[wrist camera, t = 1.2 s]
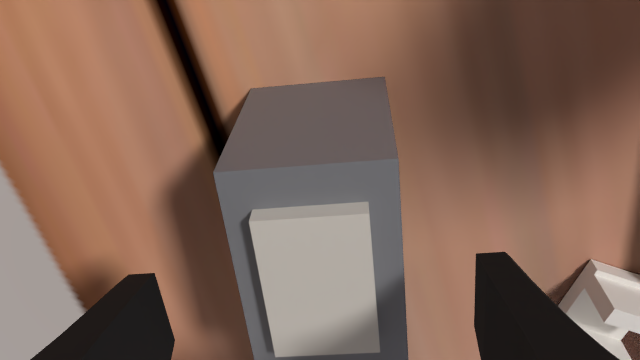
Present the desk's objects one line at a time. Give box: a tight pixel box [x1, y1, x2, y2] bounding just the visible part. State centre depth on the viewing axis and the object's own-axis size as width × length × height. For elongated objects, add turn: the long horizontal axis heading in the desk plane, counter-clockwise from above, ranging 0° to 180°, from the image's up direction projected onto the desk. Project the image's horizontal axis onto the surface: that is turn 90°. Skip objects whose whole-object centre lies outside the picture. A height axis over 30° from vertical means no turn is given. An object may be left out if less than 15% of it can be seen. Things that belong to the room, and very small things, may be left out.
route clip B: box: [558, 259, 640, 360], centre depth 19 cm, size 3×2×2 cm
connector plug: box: [213, 77, 408, 360], centre depth 16 cm, size 6×4×6 cm, turn 6°
